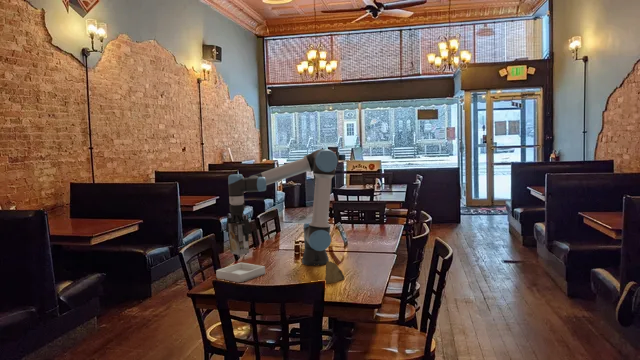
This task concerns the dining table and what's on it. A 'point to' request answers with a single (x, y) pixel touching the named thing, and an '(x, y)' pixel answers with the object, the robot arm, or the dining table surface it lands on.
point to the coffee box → (237, 239)
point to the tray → (240, 272)
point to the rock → (333, 273)
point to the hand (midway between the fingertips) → (239, 246)
